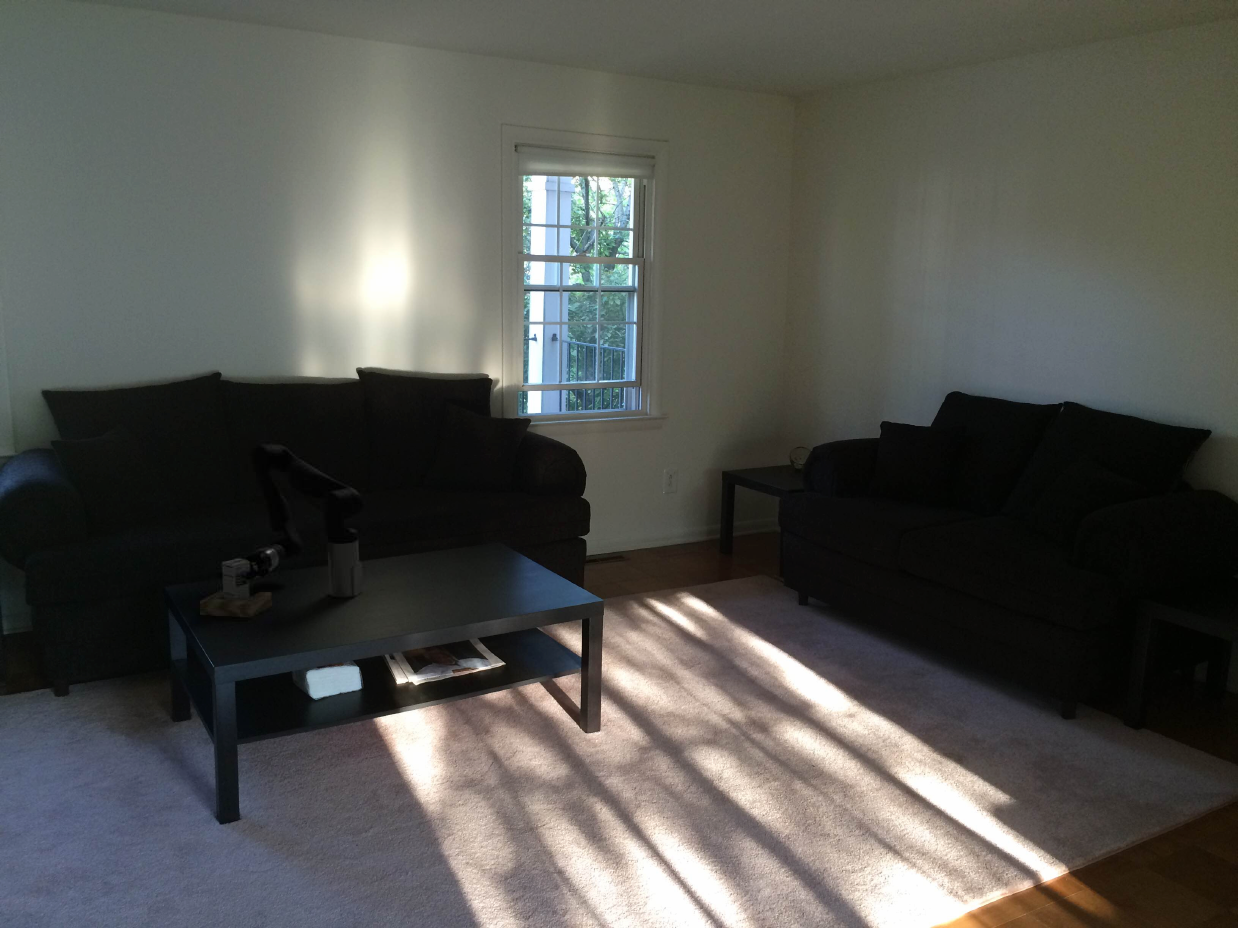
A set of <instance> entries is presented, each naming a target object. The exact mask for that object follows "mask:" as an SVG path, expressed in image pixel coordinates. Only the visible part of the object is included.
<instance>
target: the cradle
mask: <svg viewBox="0 0 1238 928" xmlns="http://www.w3.org/2000/svg"><path fill="white" fill-rule="evenodd" d="M272 605H273V599H272V592H270V591H268V592H267V591H259V592H257V593H255V594H254V595H252V597H251V598H249V599H247V600H245V601H241V600H224V590H223V589H221V590H219V591H217V592H215V593H213V594H212V595H209V596H208V597H205V598H204V599H202V600H200V601H199V610H200V616H216V617H217V616H218V617H231V616H232V617H235V618H251V619H252V618H253V617H255V616H257V615H258V614H260V613H261V612H264V611H265V610H266V609H268V608H269V607H271V606H272Z"/></svg>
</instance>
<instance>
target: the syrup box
mask: <svg viewBox="0 0 1238 928" xmlns="http://www.w3.org/2000/svg"><path fill="white" fill-rule="evenodd" d="M221 566H222V575H223V579H222V586H223V587H222V588H223V589H222V590H224V600H241V601H245V600H247V599H249V598H251V597H252V596H253V594H252V579H250V580H246V573H247V572H249V571H250V561H248V560H245V558H239V557H238V558H235V559H231V560H228V561H227V560H226V561H223V562H221Z"/></svg>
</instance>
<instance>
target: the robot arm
mask: <svg viewBox="0 0 1238 928" xmlns="http://www.w3.org/2000/svg"><path fill="white" fill-rule="evenodd" d="M250 462H251V463H250V464H251V467H252V470H253V474H254V475H255V478H256V481H257V484H258V487H259V489H260V492H261V493H262V497H263V499H264V503H265V506H266V510H267V515H268V520H269V525H270V529H271V532H273V533H276V534H277V533H278V534H279V533H280V534H281V533H283V534H284V535H285V537H284V538H280V539H278V540H277V539H276V540H274V541H272V542H270V543H269V544H268V545H267V546H265V547H263V548H259V549H257V550H254V551H253V552H251V553H249V554H247V555H246V556H245V557H244V559H245V560H248V561H250V571H249V572H247V573H246V580H250V579H251V580H252V579H254V578H259V577H261V578H265V577H267V576H269V575H270V574H272V573H273V569H274V568H276V567H278V566H279V565H281V564H283V563H284V561H286V560H291V559H293V558H297V557H299V556H301V555H302V554H303V552H304V543H303V541H302V538H301V537H300V534H299V533H298V531H297V529H296V526H295V525H294V523H293V522H294V521H293V517H292V512H291V509H290V505H289V502H288V500H287V499H286V498H285V495H283V493H281V491H280V490H279V489H278V487H277V486H276V484H275V482H274V481H273V479H272V477H271V473H273V472H274V473H275V472H276V473H277V472H279V473H282V474H284V475H287V482H288V484H289V486H290V487H291V488H292V489H294V491H296V492H298V493H299V494H301V495H303V496H305V497H307V498H311V499H315V500H321V501H322V511H323V517H324V518H323V519H324V529H325V533H326V539H327V556H328V559H327V561H328V580H329V581H328V582H329V584H328V585H329V595H330V596H331V597H333V598H343V599H344V598H352V597H353V598H354V597H357V596H359V594H361V593H362V592H364V591H363V590H364V589H363V563H362V562H361V561H360V553H359V552H360V551H359V534H358V533H359V532H358V530H357V529H354V528H350V527H346V526H345V523H344V520H346V519H352V518H355V517H357V516H359V515H361V513H363V510H364V507H365V503H364V499H363V497H362V495H361V494H360V492H358V491H357V490H356V489H354V488H353V487H350V486H348V485H346V484H343V483H342V482H339V481H337V480H336V479H333V478H332V477H330V476H328V475H327V474H325V473H324V472H321V471H320V470H319V469H317V468H315V467H314V466H312V465H311V464H309V463H306V461H303V460H302V459H300V458H298V457H297V456H296V455H294V454H293V453H292V452H291V451H290V450H289V449H288V448H287V447H286V446H284V445H282V444H278V443H277V444H276V443H275V444H274V443H268V444H267V443H266V444H265V443H263V444H262V443H260V444H256V445H254V446H253V447H252V449H251V452H250ZM270 472H271V473H270ZM219 569H220V571H219V572H218V578H219V579H221V580H223V575H222V565H221V566H220V568H219Z"/></svg>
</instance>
